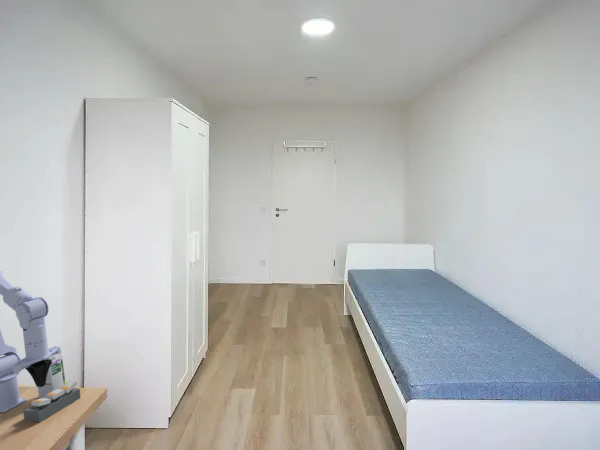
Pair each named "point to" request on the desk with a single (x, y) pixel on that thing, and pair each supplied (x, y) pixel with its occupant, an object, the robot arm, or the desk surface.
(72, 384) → the rocker
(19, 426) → the desk surface
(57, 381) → the syrup box
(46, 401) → the rocker
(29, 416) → the rocker switch panel
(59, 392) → the block
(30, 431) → the desk surface
